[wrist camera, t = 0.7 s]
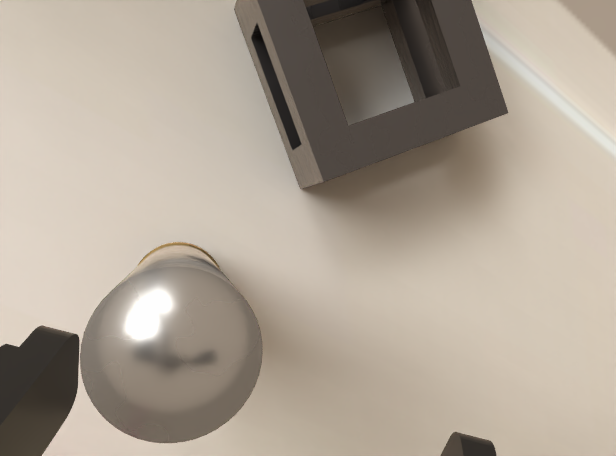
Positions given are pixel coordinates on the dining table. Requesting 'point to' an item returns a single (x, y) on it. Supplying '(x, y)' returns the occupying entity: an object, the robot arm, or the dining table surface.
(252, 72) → the dining table surface
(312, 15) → the collar stand
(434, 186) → the dining table surface
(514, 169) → the dining table surface
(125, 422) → the metal can
